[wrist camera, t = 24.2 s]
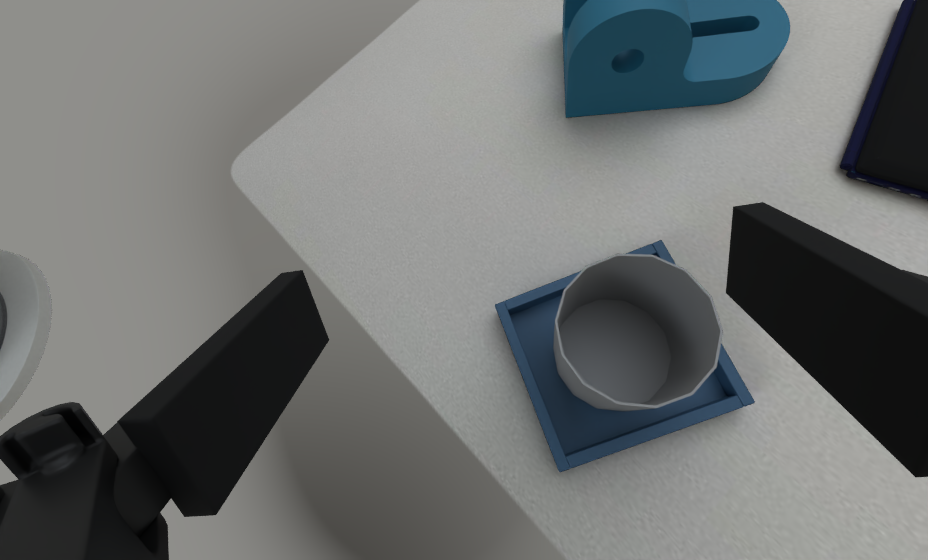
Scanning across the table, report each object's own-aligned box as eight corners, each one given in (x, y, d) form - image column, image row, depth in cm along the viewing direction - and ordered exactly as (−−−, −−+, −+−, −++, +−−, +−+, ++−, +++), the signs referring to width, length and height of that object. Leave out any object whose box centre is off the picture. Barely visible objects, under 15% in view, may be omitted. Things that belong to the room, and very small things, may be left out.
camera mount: (565, 117, 40) (571, 18, 30) (562, 30, 43) (566, -85, 33) (782, 98, 36) (869, -22, 26) (761, 5, 39) (831, -133, 29)
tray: (558, 468, 31) (559, 472, 28) (497, 311, 35) (494, 304, 33) (741, 403, 30) (756, 402, 28) (654, 250, 34) (662, 239, 32)
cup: (695, 369, 30) (760, 348, 21) (601, 434, 30) (624, 441, 21) (618, 279, 33) (645, 225, 24) (532, 338, 33) (526, 306, 24)
